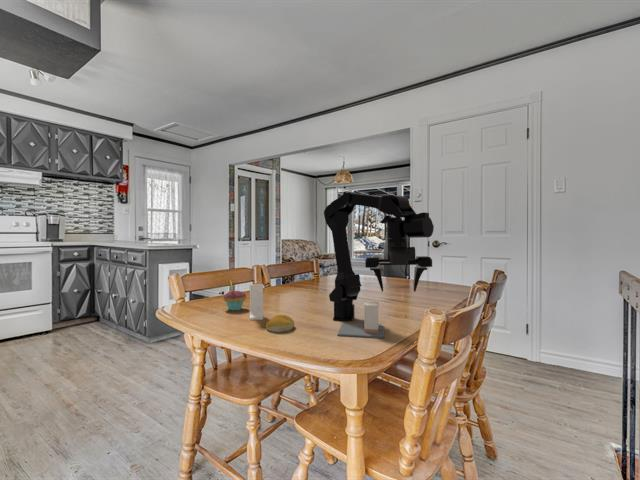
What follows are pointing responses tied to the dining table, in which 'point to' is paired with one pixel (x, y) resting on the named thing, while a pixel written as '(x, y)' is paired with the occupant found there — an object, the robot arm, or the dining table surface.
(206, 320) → the dining table surface
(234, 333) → the dining table surface
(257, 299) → the light gray rectangular block
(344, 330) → the rubber mat
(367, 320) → the tall block
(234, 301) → the cupcake
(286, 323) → the bread roll
